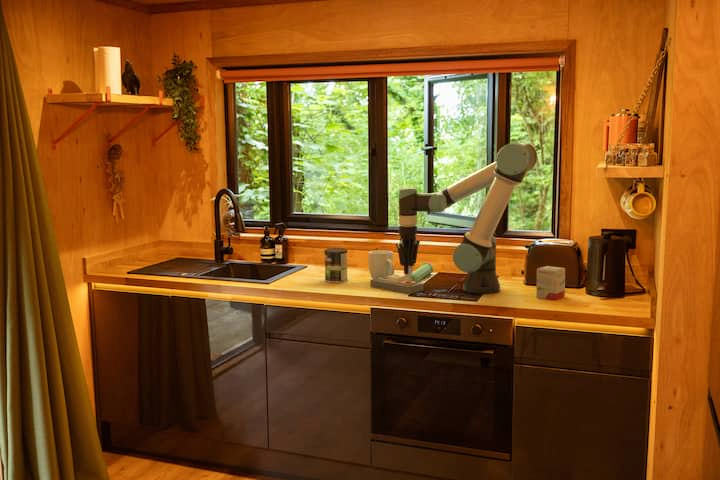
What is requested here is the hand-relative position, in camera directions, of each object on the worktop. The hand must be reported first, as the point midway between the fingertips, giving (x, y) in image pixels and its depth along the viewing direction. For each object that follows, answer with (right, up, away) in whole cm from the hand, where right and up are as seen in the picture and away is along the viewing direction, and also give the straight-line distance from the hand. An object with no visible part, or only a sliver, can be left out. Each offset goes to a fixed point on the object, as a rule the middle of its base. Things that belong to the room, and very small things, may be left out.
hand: (408, 281), depth 300 cm
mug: (-10, -1, +20) cm, 23 cm away
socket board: (-4, -3, +5) cm, 8 cm away
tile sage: (-9, -3, +9) cm, 13 cm away
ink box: (+56, -6, -15) cm, 58 cm away
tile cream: (-5, -1, +5) cm, 7 cm away
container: (+7, -1, +24) cm, 25 cm away
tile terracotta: (0, -4, 0) cm, 4 cm away
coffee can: (-31, -1, +24) cm, 39 cm away
